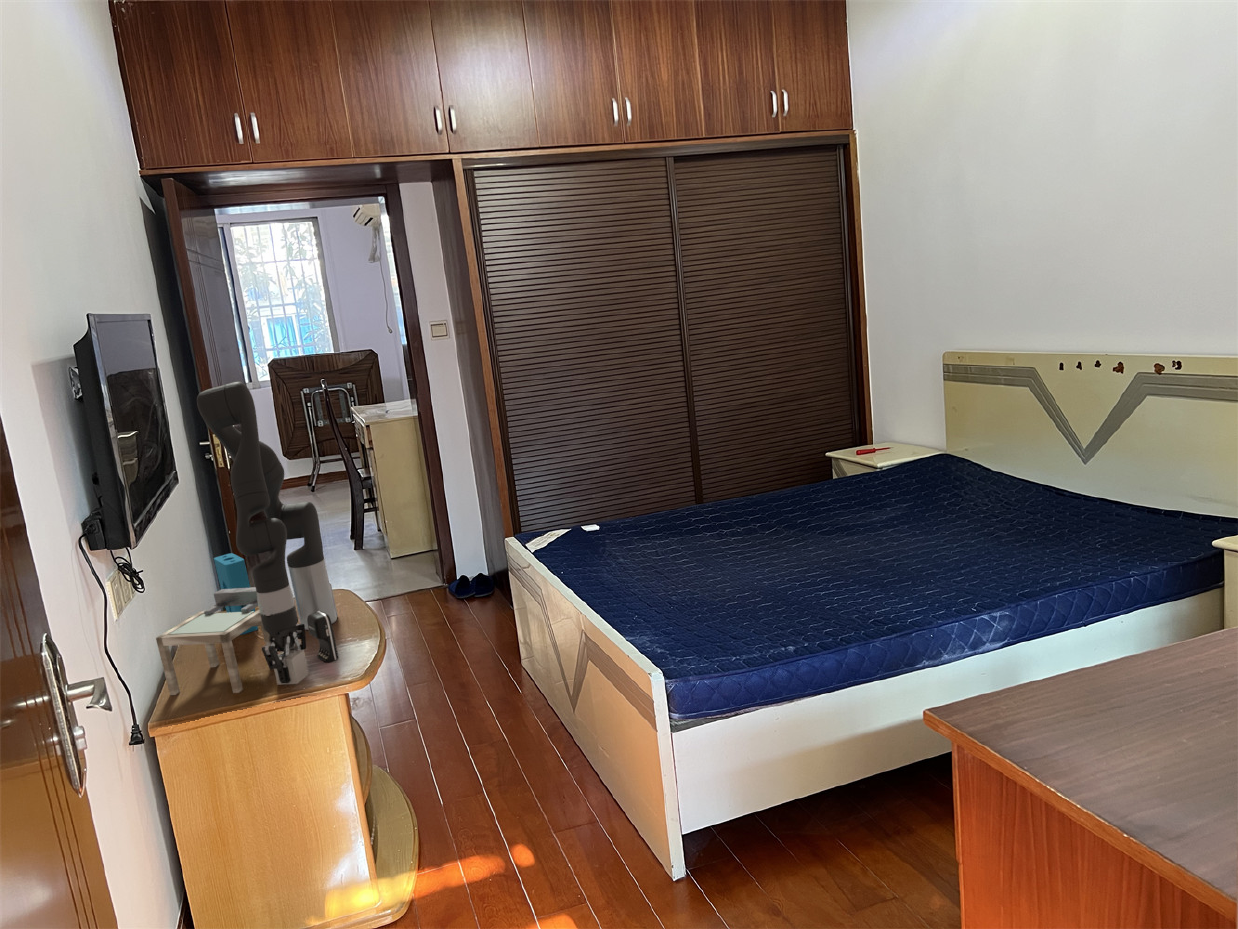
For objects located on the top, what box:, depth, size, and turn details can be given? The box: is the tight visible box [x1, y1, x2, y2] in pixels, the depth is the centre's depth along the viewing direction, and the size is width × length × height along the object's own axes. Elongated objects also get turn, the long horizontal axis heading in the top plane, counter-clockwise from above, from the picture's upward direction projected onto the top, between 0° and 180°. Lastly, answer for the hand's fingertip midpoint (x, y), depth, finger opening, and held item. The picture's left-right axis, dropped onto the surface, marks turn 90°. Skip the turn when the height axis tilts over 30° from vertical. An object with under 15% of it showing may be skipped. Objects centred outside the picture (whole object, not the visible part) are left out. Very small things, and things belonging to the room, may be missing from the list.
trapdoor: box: [169, 586, 258, 635], centre depth 213 cm, size 20×14×4 cm
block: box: [213, 552, 259, 636], centre depth 244 cm, size 12×5×20 cm, turn 39°
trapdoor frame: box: [155, 609, 270, 696], centre depth 211 cm, size 16×18×14 cm
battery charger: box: [307, 611, 339, 663], centre depth 215 cm, size 7×4×11 cm, turn 40°
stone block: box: [273, 650, 310, 685], centre depth 206 cm, size 5×5×6 cm
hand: (292, 676), depth 206 cm, fingers closed on stone block, 5 cm apart
